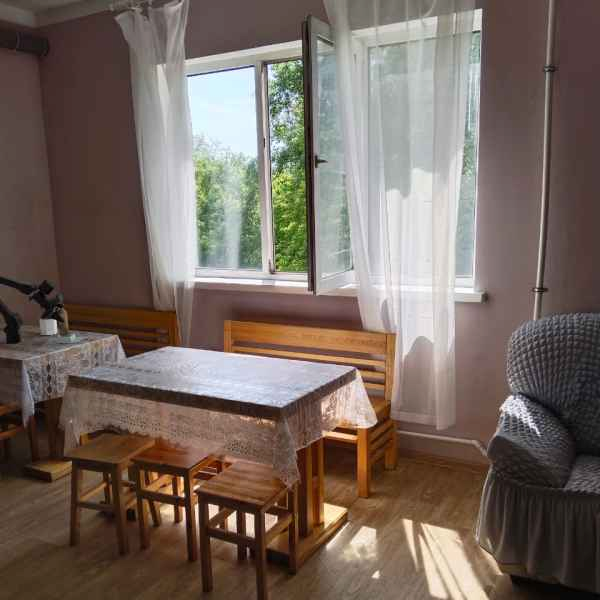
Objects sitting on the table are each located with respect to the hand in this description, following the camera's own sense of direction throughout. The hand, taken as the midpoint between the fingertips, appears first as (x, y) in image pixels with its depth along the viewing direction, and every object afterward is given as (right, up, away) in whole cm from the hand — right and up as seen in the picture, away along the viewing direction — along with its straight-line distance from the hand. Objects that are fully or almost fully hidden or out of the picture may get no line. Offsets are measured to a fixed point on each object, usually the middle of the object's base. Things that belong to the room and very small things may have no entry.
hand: (65, 320), depth 336 cm
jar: (-16, -8, +19) cm, 26 cm away
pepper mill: (-1, -7, +1) cm, 8 cm away
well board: (-1, -11, +2) cm, 11 cm away
